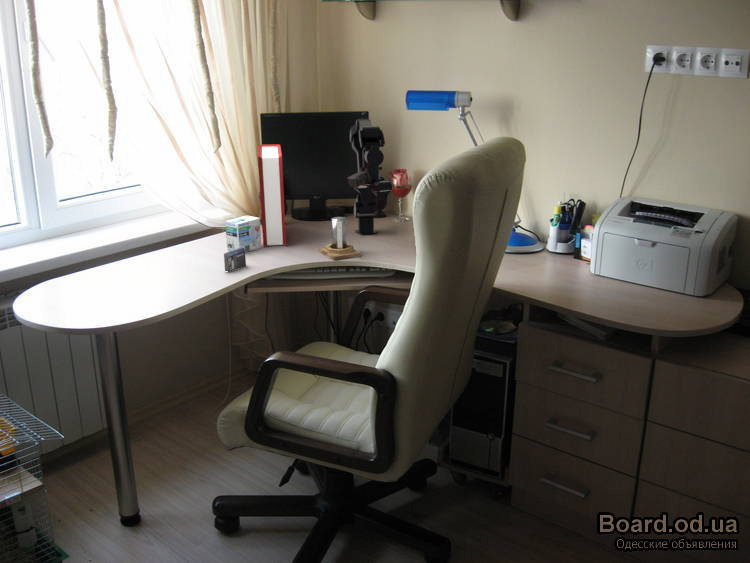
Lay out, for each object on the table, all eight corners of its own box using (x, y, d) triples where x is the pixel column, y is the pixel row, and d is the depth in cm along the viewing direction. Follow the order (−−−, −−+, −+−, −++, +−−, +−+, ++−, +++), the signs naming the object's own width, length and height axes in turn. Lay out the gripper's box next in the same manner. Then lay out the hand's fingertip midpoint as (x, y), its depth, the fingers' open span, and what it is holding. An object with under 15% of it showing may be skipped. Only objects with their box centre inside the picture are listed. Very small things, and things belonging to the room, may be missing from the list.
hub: (318, 251, 253) (318, 244, 253) (344, 247, 258) (344, 240, 257) (333, 260, 244) (333, 252, 243) (360, 256, 248) (360, 248, 247)
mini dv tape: (228, 272, 232) (227, 254, 230) (225, 271, 233) (223, 253, 231) (246, 265, 239) (244, 248, 237) (242, 265, 240) (241, 247, 238)
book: (286, 246, 260) (281, 155, 250) (263, 247, 259) (257, 156, 249) (284, 227, 286) (280, 144, 275) (263, 228, 285) (258, 144, 274)
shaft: (331, 248, 253) (330, 217, 249) (346, 247, 253) (345, 216, 250) (332, 252, 248) (331, 220, 244) (347, 252, 248) (346, 220, 245)
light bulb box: (239, 254, 251) (237, 223, 248) (226, 251, 255) (224, 220, 252) (262, 247, 259) (260, 217, 256) (249, 244, 263) (247, 214, 260)
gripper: (337, 163, 257) (339, 208, 261) (364, 167, 241) (365, 214, 245) (365, 161, 262) (366, 205, 266) (393, 165, 247) (394, 211, 251)
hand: (372, 209), depth 257 cm, fingers open, 9 cm apart
